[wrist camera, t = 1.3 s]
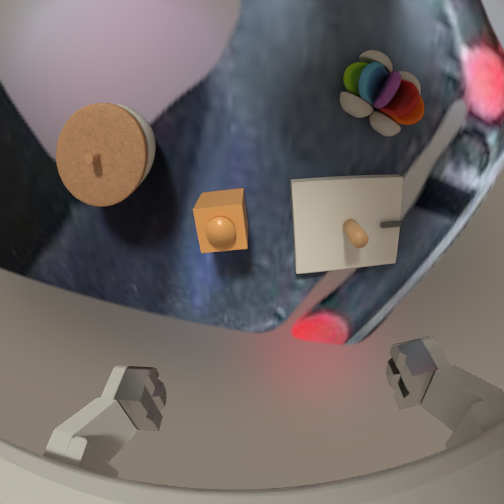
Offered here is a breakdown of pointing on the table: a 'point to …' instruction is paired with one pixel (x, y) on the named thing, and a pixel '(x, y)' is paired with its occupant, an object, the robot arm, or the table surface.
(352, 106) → the rainbow segmented toy
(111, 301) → the table surface
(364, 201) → the plate
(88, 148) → the lidded jar
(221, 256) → the table surface
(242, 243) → the orange cube with dome
